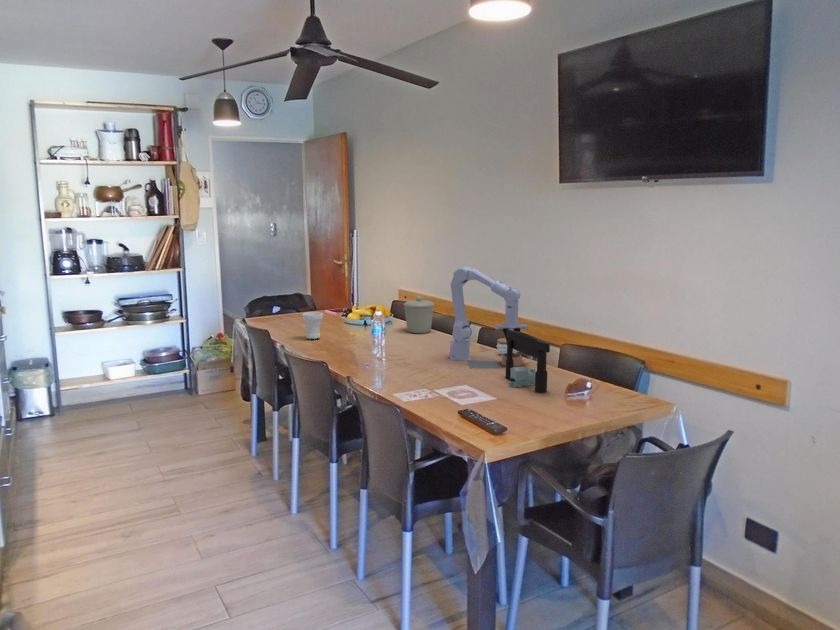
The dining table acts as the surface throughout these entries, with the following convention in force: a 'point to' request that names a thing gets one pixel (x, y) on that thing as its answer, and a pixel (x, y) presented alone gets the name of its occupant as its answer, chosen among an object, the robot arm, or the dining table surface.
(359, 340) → the dining table surface
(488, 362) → the mat
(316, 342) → the dining table surface
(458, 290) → the robot arm
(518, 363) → the bowl
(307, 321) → the cup
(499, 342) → the lidded jar
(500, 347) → the lid
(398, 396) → the dining table surface
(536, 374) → the black arch frame
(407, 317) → the canister
